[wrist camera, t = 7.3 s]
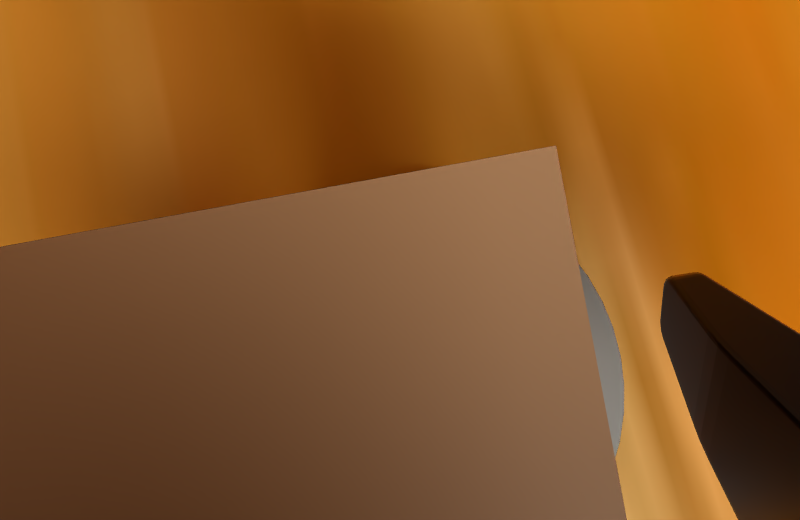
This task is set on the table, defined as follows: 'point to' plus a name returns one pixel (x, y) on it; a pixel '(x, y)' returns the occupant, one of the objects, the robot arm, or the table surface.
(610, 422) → the slate coaster
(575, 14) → the table surface
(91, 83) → the table surface
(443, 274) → the oak block
